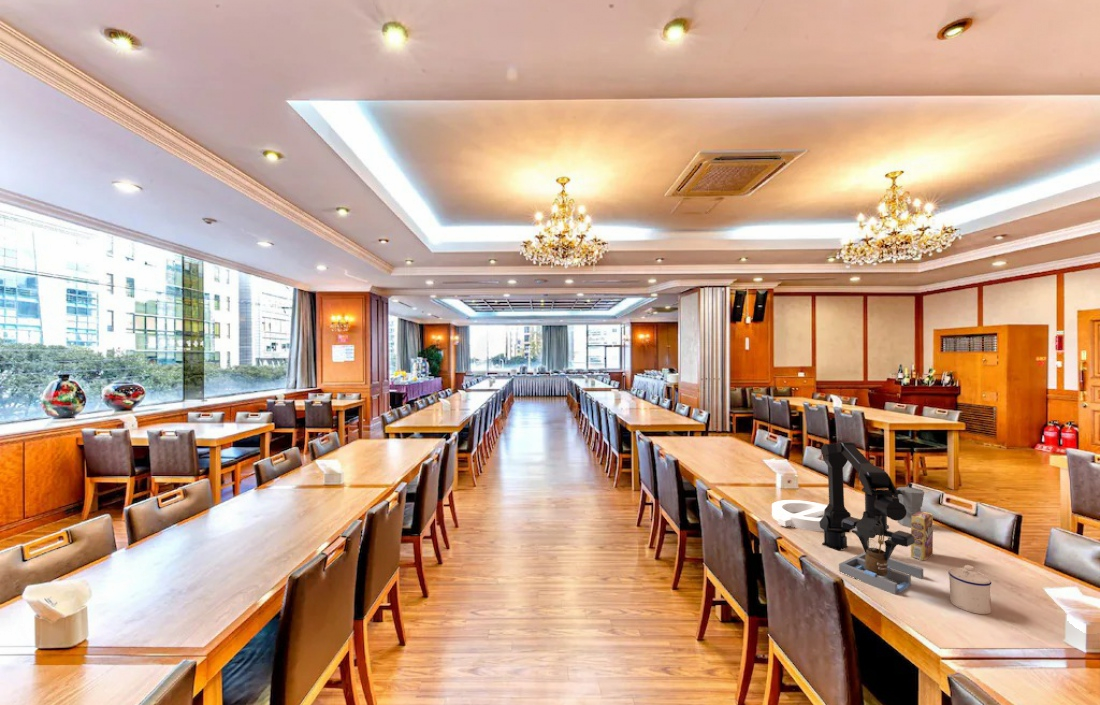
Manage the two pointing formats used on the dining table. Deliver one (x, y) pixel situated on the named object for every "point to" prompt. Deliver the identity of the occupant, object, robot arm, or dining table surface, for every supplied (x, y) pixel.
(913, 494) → the coffeepot
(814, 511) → the ring with crossbar
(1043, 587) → the dining table surface
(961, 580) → the teacup with lid
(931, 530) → the candy box
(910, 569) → the divider rack
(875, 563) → the utensil holder
